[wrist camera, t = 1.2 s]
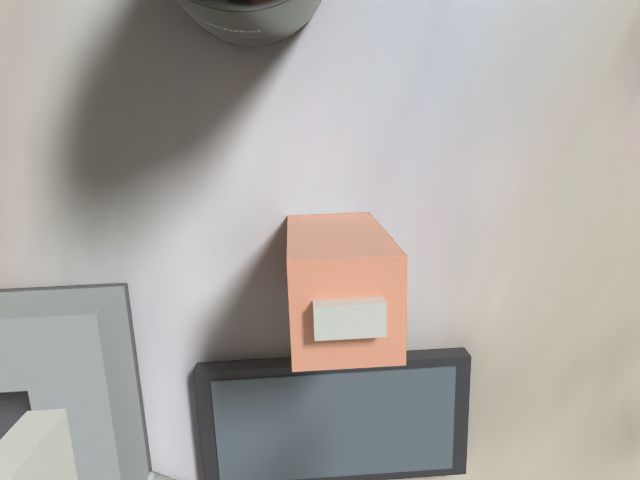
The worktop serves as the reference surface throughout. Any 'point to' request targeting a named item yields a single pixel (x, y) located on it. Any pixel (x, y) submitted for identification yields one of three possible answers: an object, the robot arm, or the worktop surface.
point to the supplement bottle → (250, 18)
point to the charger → (345, 293)
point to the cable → (157, 476)
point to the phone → (334, 419)
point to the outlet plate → (77, 373)
